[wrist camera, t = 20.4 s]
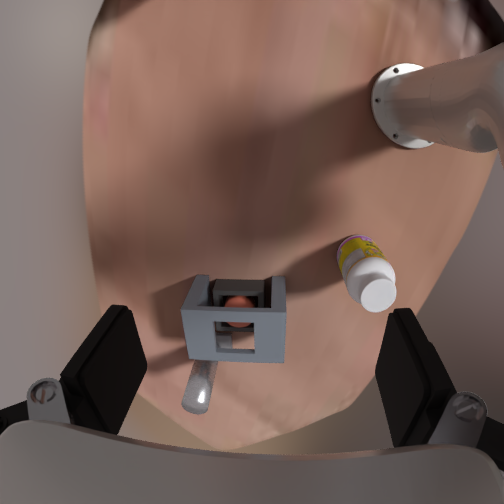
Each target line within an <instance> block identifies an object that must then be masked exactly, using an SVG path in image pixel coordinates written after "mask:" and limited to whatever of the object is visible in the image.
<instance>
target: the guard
mask: <svg viewBox="0 0 504 504" xmlns="http://www.w3.org/2000/svg"><path fill="white" fill-rule="evenodd" d="M223 295H236V296H258V308H239V307H224V306H223ZM213 299H214V307H212V303H211V293H210V282H209V275H196V277H195V279H194V282H193V284H192V286H191V288H190V290H189V292H188V294H187V297H186V299H185V301H184V303H183V305H182V307H181V315H182V321H183V327H184V333H185V338H186V344H187V350H188V355H189V359H197V360H212V361H230V362H256V363H284V353H285V334H286V288H285V276H272V296H271V308H265V304H264V280H230V279H216V282H215V285H214V288H213ZM214 321H216V329H217V331H242V332H254V341H255V349H229V348H217V344H216V335H215V326H214ZM227 322H248V323H251V324H249V325H248V326H245V327H234V326H231V325H229V324H228V323H227Z"/></svg>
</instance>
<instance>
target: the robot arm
mask: <svg viewBox="0 0 504 504" xmlns="http://www.w3.org/2000/svg"><path fill="white" fill-rule="evenodd" d="M393 70H395V73H394V72H393ZM375 99H377V100H378V102H375ZM371 108H372V112H373V116H374V119H375V121H376V123H377V125H378V127H379V128H380V129H381V131H382V132H383V133H384V134H385V135H386V136H387V137H388V138H389V139H390V140H392V141H393V142H395V143H396V144H399V145H401V146H404V147H407V148H414V149H418V148H425V147H428V146H430V145H432V144H434V143H438V144H442V145H446V146H450V147H454V148H458V149H462V150H466V151H470V152H475V153H485V152H490V151H492V150H495V149H497V148H498V151H499V154H500V158H501V162H502V165H503V168H504V42H503V43H501V44H499V45H497V46H495V47H493V48H491V49H489V50H487V51H485V52H482V53H480V54H477V55H474V56H471V57H467V58H463V59H459V60H455V61H451V62H446V63H442V64H438V65H434V66H430V67H426V68H423V67H421V66H419V65H416V64H411V63H401V64H396V65H393V66H391V67H389V68H387V69H386V70H384V71H383V72H382V73H381V74H380V75H379V76H378V78H377V79H376V81H375V83H374V85H373V88H372V93H371ZM393 134H395V137H393ZM146 371H147V361H146V358H145V354H144V351H143V348H142V345H141V341H140V338H139V335H138V331H137V328H136V324H135V320H134V317H133V313H132V311H131V310H129V309H128V307H127V306H125V305H111V306H110V307H109V308H108V310H107V311H106V312H105V314H104V315H103V316H102V318H101V319H100V320H99V322H98V323H97V324H96V326H95V327H94V328H93V330H92V331H91V332H90V334H89V335H88V336H87V338H86V339H85V340H84V342H83V343H82V345H81V346H80V347H79V349H78V350H77V352H76V353H75V354H74V355H73V357H72V358H71V360H70V361H69V362H68V364H67V365H66V367H65V368H64V370H63V371H62V373H61V374H60V376H61V378H60V380H59V381H57V380H56V379H53V378H44V379H40V380H38V381H36V382H35V383H34V384H32V385H31V387H30V388H29V390H28V392H27V400H26V401H23V402H21V403H18V404H16V405H13V406H10V407H7V408H4V409H2V410H0V504H504V424H502V423H500V422H497V421H495V420H493V419H491V418H489V417H487V407H486V404H485V403H484V401H483V399H481V398H480V397H479V396H478V395H476V394H474V393H471V392H459V393H457V392H456V390H455V388H454V386H453V383H452V381H451V379H450V377H449V375H448V373H447V371H446V369H445V367H444V365H443V363H442V361H441V359H440V357H439V355H438V353H437V351H436V349H435V347H434V346H433V344H432V343H431V342H429V341H428V339H427V337H426V335H425V334H424V332H423V330H422V328H421V326H420V324H419V322H418V321H417V319H416V317H415V315H414V313H413V311H412V310H411V309H410V308H398V309H394V311H393V313H390V314H389V316H388V320H387V324H386V329H385V333H384V337H383V341H382V345H381V349H380V353H379V357H378V361H377V364H376V368H375V376H376V379H377V383H378V387H379V391H380V394H381V398H382V402H383V406H384V409H385V413H386V417H387V421H388V425H389V429H390V434H391V438H392V442H393V446H394V448H389V449H380V450H372V451H360V452H348V453H332V454H308V455H272V454H271V455H270V454H246V453H231V452H219V451H209V450H200V449H192V448H184V447H177V446H171V445H164V444H158V443H153V442H147V441H142V440H137V439H132V438H128V437H123V436H118V435H117V434H118V433H119V430H120V428H121V426H122V424H123V421H124V419H125V417H126V415H127V412H128V410H129V408H130V406H131V403H132V401H133V399H134V397H135V394H136V392H137V390H138V388H139V386H140V384H141V382H142V379H143V377H144V375H145V373H146Z"/></svg>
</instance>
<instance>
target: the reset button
mask: <svg viewBox="0 0 504 504" xmlns="http://www.w3.org/2000/svg"><path fill="white" fill-rule="evenodd" d="M224 307H239V308H255V301H254V299H253V297H252V296H236V295H229V296H228V297H227V299H226V302H225V306H224ZM227 323H228V324H229V325H231V326H234V327H245V326H248V325H249V324H251V323H248V322H227Z"/></svg>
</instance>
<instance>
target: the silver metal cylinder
mask: <svg viewBox="0 0 504 504" xmlns="http://www.w3.org/2000/svg"><path fill="white" fill-rule="evenodd" d="M216 344H217V348H221V347H220V345H219V344H218V343H217V342H216ZM217 365H218V361H212V360H197V359H195V361H194V364H193V367H192V370H191V374H190V377H189V380H188V383H187V387H186V390H185V393H184V396H183V400H182V407H183V408H184V409H185V410H186V411H188V412H190V413H193V414H203V413H205V412H207V410H208V406H209V401H210V397H211V392H212V388H213V383H214V379H215V374H216V370H217Z"/></svg>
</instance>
